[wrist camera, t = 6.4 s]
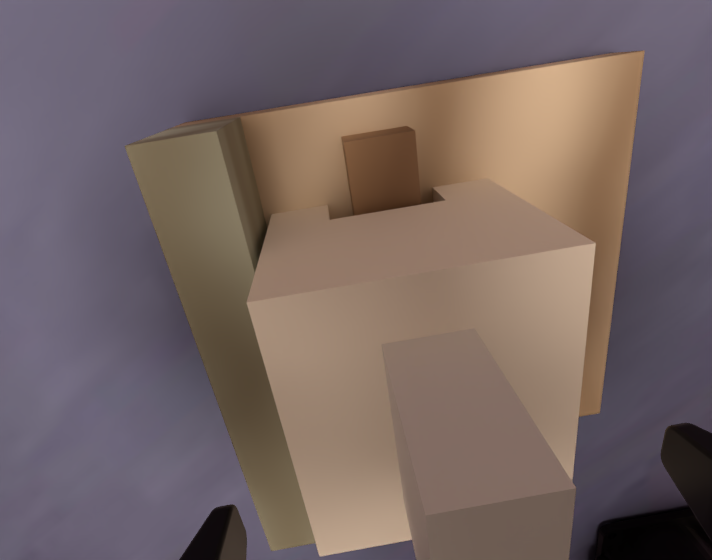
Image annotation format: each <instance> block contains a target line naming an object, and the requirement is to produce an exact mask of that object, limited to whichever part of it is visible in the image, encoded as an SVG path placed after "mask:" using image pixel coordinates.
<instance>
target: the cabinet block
mask: <svg viewBox="0 0 712 560" xmlns="http://www.w3.org/2000/svg"><path fill="white" fill-rule="evenodd" d="M432 189H433V203H427V204H421V205H415V206H409V207H403V208H397V209H391V210H385V211H379V212H373V213H367V214H361V215H355V216H349V217H343V218H337V219H331V220H330V215H329V210H328V205H323V206H317V207H311V208H305V209H299V210H293V211H287V212H281V213H275V214H272V215H271V218H270V222H269V225H268V229H267V233H266V236H265V240H264V243H263V247H262V250H261V254H260V257H259V261H258V264H257V268H256V271H255V275H254V278H253V282H252V285H251V289H250V292H249V296H248V299H247V306H248V309H249V313H250V316H251V320H252V323H253V327H254V330H255V334H256V337H257V341H258V344H259V348H260V351H261V355H262V358H263V362H264V365H265V368H266V372H267V375H268V379H269V382H270V386H271V389H272V393H273V396H274V400H275V403H276V407H277V410H278V414H279V417H280V421H281V424H282V428H283V431H284V435H285V438H286V441H287V445H288V448H289V452H290V455H291V459H292V462H293V466H294V469H295V473H296V476H297V480H298V483H299V487H300V490H301V494H302V497H303V501H304V504H305V507H306V511H307V514H308V518H309V521H310V525H311V528H312V532H313V535H314V539H315V542H316V546H317V549H318V553H319V556H325V555H331V554H336V553H342V552H347V551H353V550H358V549H364V548H369V547H375V546H380V545H386V544H391V543H397V542H402V541H408V540H412V542H413V547H414V551H415V556H416V560H569V552H570V542H571V533H572V523H573V514H574V504H575V495H576V487H575V485H574V484H573V482H572V479H573V469H574V459H575V449H576V439H577V429H578V418H579V408H580V398H581V388H582V378H583V368H584V358H585V348H586V337H587V327H588V317H589V307H590V297H591V287H592V277H593V266H594V256H595V246H596V243H595V242H593V241H592V240H590V239H588V238H587V237H585V236H583V235H582V234H580V233H578V232H577V231H575V230H573V229H572V228H570V227H568V226H566V225H565V224H563V223H561V222H560V221H558V220H556V219H555V218H553V217H551V216H550V215H548V214H546V213H545V212H543V211H541V210H540V209H538V208H536V207H535V206H533V205H531V204H530V203H528V202H526V201H525V200H523V199H521V198H520V197H518V196H516V195H515V194H513V193H511V192H510V191H508V190H506V189H505V188H503V187H501V186H500V185H498V184H496V183H495V182H493V181H491V180H490V179H488V178H485V179H479V180H473V181H467V182H461V183H455V184H449V185H443V186H437V187H432Z"/></svg>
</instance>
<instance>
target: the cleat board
mask: <svg viewBox="0 0 712 560" xmlns="http://www.w3.org/2000/svg"><path fill="white" fill-rule="evenodd" d="M643 59H644V51H633V52H618V53H609V54H603V55H597V56H591V57H585V58H578V59H572V60H566V61H560V62H554V63H548V64H542V65H535V66H529V67H523V68H517V69H511V70H505V71H499V72H492V73H486V74H480V75H474V76H468V77H462V78H456V79H450V80H443V81H437V82H431V83H425V84H419V85H413V86H407V87H400V88H394V89H388V90H382V91H376V92H370V93H364V94H358V95H351V96H345V97H339V98H333V99H327V100H321V101H315V102H308V103H302V104H296V105H290V106H284V107H278V108H272V109H266V110H259V111H253V112H247V113H241V114H235V115H229V116H223V117H216V118H210V119H204V120H198V121H192V122H186V123H183V124H180V125H177V126H175V127H172V128H170V129H167V130H165V131H162V132H160V133H157V134H154V135H152V136H149V137H147V138H144V139H142V140H139V141H136V142H134V143H131V144H129V145H126V146H125V149H126V151H127V154H128V157H129V160H130V162H131V165H132V168H133V171H134V173H135V176H136V179H137V182H138V184H139V187H140V190H141V193H142V195H143V198H144V201H145V204H146V206H147V209H148V212H149V215H150V218H151V220H152V223H153V226H154V229H155V231H156V234H157V237H158V240H159V242H160V245H161V248H162V251H163V253H164V256H165V259H166V262H167V264H168V267H169V270H170V273H171V275H172V278H173V281H174V284H175V286H176V289H177V292H178V295H179V298H180V300H181V303H182V306H183V309H184V311H185V314H186V317H187V320H188V322H189V325H190V328H191V331H192V333H193V336H194V339H195V342H196V344H197V347H198V350H199V353H200V355H201V358H202V361H203V364H204V366H205V369H206V372H207V375H208V378H209V380H210V383H211V386H212V389H213V391H214V394H215V397H216V400H217V402H218V405H219V408H220V411H221V413H222V416H223V419H224V422H225V424H226V427H227V430H228V433H229V435H230V438H231V441H232V444H233V446H234V449H235V452H236V455H237V458H238V460H239V463H240V466H241V469H242V471H243V474H244V477H245V480H246V482H247V485H248V488H249V491H250V493H251V496H252V499H253V502H254V504H255V507H256V510H257V513H258V515H259V518H260V521H261V524H262V527H263V529H264V532H265V535H266V538H267V540H268V543H269V546H270V549H271V551H274V550H280V549H285V548H291V547H296V546H302V545H307V544H313V543H316V542H315V539H314V535H313V532H312V528H311V525H310V521H309V518H308V514H307V511H306V507H305V504H304V501H303V497H302V494H301V490H300V487H299V483H298V480H297V476H296V473H295V469H294V466H293V462H292V459H291V455H290V452H289V448H288V445H287V441H286V438H285V435H284V431H283V428H282V424H281V421H280V417H279V414H278V410H277V407H276V403H275V400H274V396H273V393H272V389H271V386H270V382H269V379H268V375H267V372H266V368H265V365H264V362H263V358H262V355H261V351H260V348H259V344H258V341H257V337H256V334H255V330H254V327H253V323H252V320H251V316H250V313H249V309H248V306H247V299H248V296H249V292H250V289H251V285H252V282H253V278H254V275H255V271H256V268H257V264H258V261H259V257H260V254H261V250H262V247H263V243H264V240H265V236H266V233H267V229H268V225H269V222H270V218H271V215H272V214H275V213H281V212H287V211H293V210H299V209H305V208H311V207H317V206H323V205H328V210H329V215H330V220H331V219H337V218H343V217H349V216H355V215H361V214H367V213H373V212H379V211H385V210H391V209H397V208H403V207H409V206H415V205H421V204H427V203H433V189H432V187H437V186H443V185H449V184H455V183H461V182H467V181H473V180H479V179H485V178H488V179H490V180H491V181H493V182H495V183H496V184H498V185H500V186H501V187H503V188H505V189H506V190H508V191H510V192H511V193H513V194H515V195H516V196H518V197H520V198H521V199H523V200H525V201H526V202H528V203H530V204H531V205H533V206H535V207H536V208H538V209H540V210H541V211H543V212H545V213H546V214H548V215H550V216H551V217H553V218H555V219H556V220H558V221H560V222H561V223H563V224H565V225H566V226H568V227H570V228H572V229H573V230H575V231H577V232H578V233H580V234H582V235H583V236H585V237H587V238H588V239H590V240H592V241H593V242H595V243H596V246H595V256H594V266H593V277H592V287H591V297H590V307H589V317H588V327H587V337H586V348H585V358H584V368H583V378H582V388H581V398H580V408H579V417H580V416H586V415H591V414H597V413H600V406H601V398H602V390H603V382H604V374H605V366H606V358H607V350H608V341H609V333H610V325H611V317H612V309H613V301H614V293H615V285H616V277H617V269H618V261H619V253H620V245H621V236H622V228H623V220H624V212H625V204H626V196H627V188H628V180H629V172H630V164H631V156H632V148H633V140H634V131H635V123H636V115H637V107H638V99H639V91H640V83H641V75H642V67H643Z"/></svg>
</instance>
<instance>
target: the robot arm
mask: <svg viewBox="0 0 712 560" xmlns="http://www.w3.org/2000/svg"><path fill="white" fill-rule="evenodd" d="M661 460H662V463H663V465H664V467H665V469H666V470H667V472H668V473H669V475H670V477H671V478H672V480H673V481H674V483H675V485H676V486H677V488H678V489H679V491H680V493H681V494H682V496H683V497H684V499H685V501H686V502H687V504H688V505H689V507H690V509H685V510H680V511H674V512H669V513H664V514H658V515H653V516H647V517H642V518H636V519H631V520H626V521H620V522H615V523H609V524H606V525H604V526H602V527H601V528H600V530H599V536H598V543H597V550H596V557H595V560H712V433H710V432H708V431H706V430H704V429H702V428H700V427H698V426H695V425H693V424H690V423H681V424H676V425H671V426H668V427H667V428H666V431H665V435H664V440H663V444H662V449H661ZM246 549H247V536H246V530H245V527H244V525H243V522H242V520H241V517H240V515H239V512H238V510H237V508H236V506H235V505H226V506H220V507H216V508H215V509H213V510H212V512H211V513H210V515H209V516H208V518H207V519H206V521H205V522H204V524H203V525H202V527H201V528H200V530H199V531H198V533H197V534H196V535H195V537H194V538H193V540H192V541H191V543H190V544H189V546H188V547H187V549H186V550H185V552H184V553H183V555H182V556H181V558H180V559H179V560H246Z"/></svg>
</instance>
